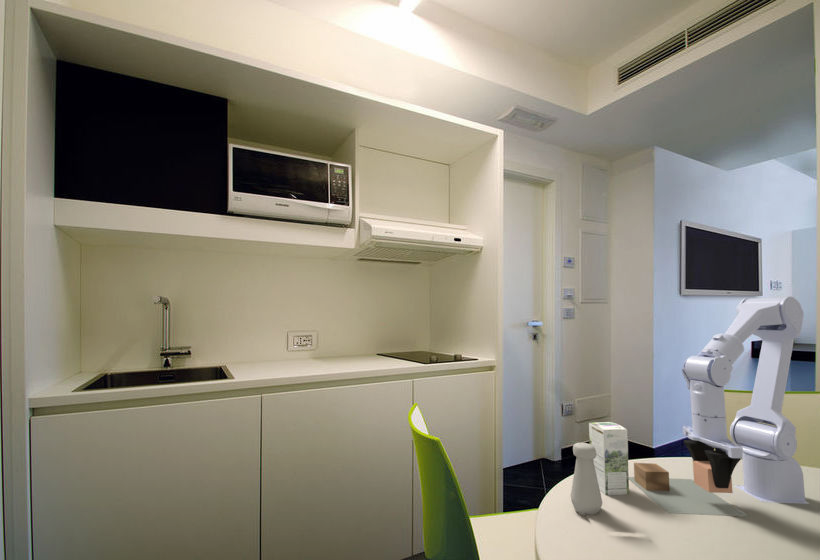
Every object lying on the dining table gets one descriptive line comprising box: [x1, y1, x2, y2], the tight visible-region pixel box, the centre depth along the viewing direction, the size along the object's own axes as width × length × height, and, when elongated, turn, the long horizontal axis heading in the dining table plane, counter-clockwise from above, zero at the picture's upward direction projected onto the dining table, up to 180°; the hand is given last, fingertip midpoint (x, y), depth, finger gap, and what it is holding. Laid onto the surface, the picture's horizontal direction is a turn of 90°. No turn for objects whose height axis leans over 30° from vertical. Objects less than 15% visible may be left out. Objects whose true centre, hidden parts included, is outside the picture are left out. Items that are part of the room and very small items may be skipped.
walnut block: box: [633, 462, 670, 491], centre depth 88 cm, size 5×5×4 cm
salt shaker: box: [570, 442, 603, 517], centre depth 78 cm, size 6×6×13 cm
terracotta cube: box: [692, 460, 733, 494], centre depth 80 cm, size 4×4×4 cm
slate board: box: [629, 476, 749, 517], centre depth 84 cm, size 15×17×1 cm
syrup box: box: [588, 421, 630, 496], centre depth 87 cm, size 6×6×14 cm
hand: (712, 481), depth 80 cm, fingers closed on terracotta cube, 4 cm apart
